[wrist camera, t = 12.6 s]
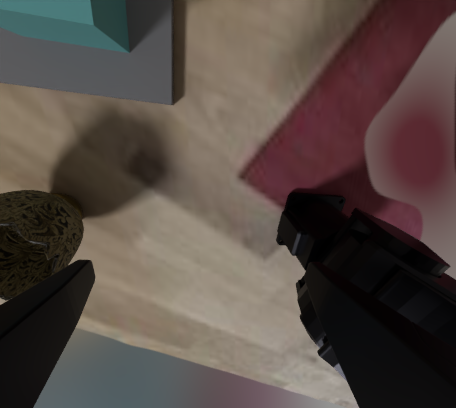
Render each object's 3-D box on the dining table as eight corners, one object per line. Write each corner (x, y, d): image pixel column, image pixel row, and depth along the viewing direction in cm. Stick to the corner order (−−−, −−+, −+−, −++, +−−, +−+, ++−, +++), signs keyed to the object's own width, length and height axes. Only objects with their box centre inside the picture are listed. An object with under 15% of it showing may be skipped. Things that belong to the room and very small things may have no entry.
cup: (20, 231, 19) (-88, 305, 12) (13, 159, 16) (-134, 198, 9) (104, 246, 21) (53, 317, 14) (110, 183, 18) (51, 231, 11)
